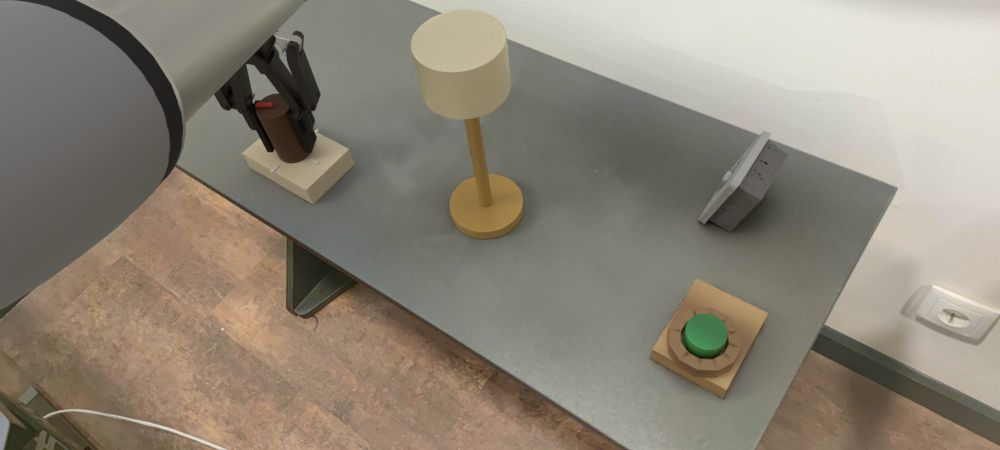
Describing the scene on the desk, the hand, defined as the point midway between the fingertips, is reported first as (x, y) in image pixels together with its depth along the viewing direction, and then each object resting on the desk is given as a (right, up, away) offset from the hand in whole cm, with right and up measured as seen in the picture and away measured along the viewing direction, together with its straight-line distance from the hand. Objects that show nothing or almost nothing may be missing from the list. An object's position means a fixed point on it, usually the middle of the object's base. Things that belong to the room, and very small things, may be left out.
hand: (292, 144), depth 90 cm
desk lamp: (+25, -8, -4) cm, 27 cm away
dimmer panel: (0, -2, +3) cm, 4 cm away
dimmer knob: (0, -1, +1) cm, 1 cm away
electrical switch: (+55, -8, -7) cm, 56 cm away
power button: (+47, -22, -21) cm, 56 cm away
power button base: (+48, -22, -17) cm, 56 cm away
